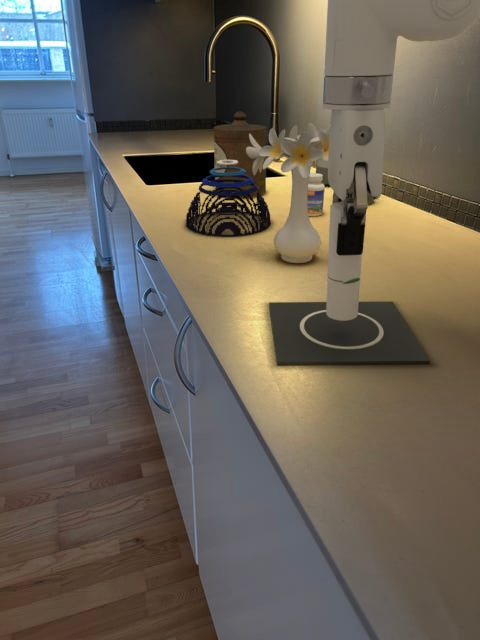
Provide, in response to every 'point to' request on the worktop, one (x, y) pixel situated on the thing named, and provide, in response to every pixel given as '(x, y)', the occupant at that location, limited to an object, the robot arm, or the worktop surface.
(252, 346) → the worktop surface
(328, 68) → the robot arm
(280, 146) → the flower vase
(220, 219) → the decorative bowl
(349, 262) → the tube
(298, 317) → the slate board
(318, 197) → the pill bottle
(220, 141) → the wooden container
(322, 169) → the smart speaker
